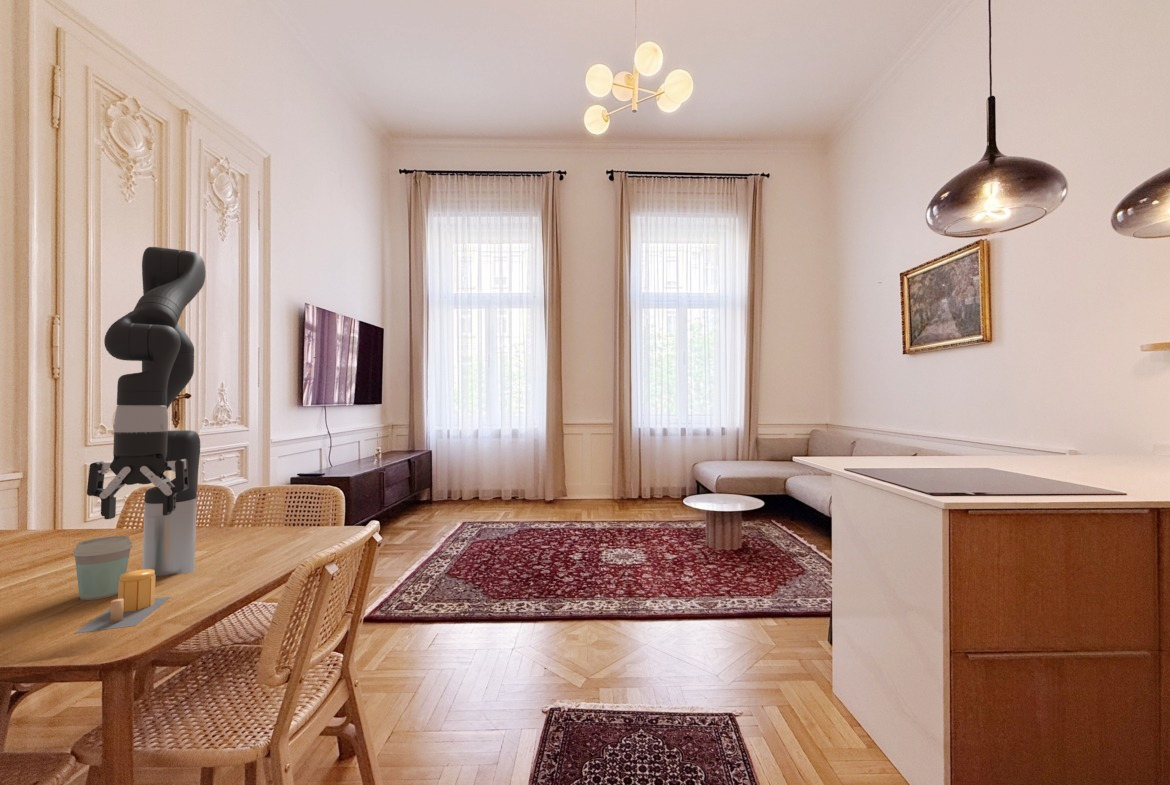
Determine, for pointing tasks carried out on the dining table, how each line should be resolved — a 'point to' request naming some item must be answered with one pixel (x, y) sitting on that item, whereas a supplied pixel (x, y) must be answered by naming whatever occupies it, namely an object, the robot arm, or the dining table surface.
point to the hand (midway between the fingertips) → (138, 516)
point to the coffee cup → (101, 565)
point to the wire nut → (137, 589)
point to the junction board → (126, 616)
